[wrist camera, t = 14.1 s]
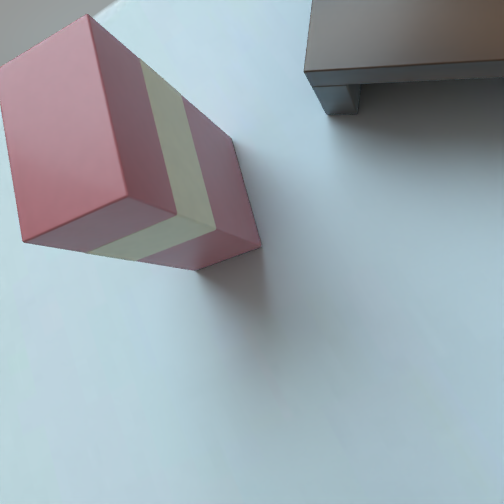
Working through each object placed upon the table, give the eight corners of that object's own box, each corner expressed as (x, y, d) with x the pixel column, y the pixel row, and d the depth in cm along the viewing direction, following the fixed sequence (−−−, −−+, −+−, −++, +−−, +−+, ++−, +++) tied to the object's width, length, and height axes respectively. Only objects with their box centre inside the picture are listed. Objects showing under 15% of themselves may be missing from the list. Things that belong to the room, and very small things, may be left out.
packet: (263, 247, 21) (128, 196, 11) (194, 271, 22) (21, 244, 13) (231, 137, 22) (87, 10, 13) (168, 165, 23) (-8, 69, 14)
